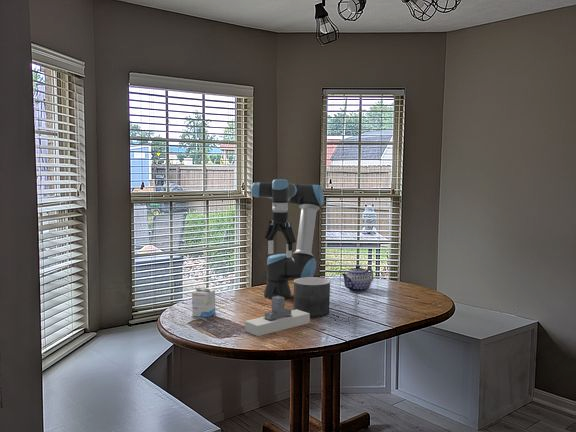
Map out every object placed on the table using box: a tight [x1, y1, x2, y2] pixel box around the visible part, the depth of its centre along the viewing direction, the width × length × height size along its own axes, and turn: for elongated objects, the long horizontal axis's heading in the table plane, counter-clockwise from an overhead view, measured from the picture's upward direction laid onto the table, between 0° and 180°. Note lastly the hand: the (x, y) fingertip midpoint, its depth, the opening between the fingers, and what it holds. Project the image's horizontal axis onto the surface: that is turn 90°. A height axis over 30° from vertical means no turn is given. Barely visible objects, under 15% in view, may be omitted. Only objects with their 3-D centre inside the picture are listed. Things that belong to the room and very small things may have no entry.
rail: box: [244, 309, 311, 337], centre depth 233 cm, size 30×9×4 cm, turn 131°
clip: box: [264, 296, 291, 321], centre depth 232 cm, size 12×4×13 cm, turn 131°
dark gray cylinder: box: [293, 276, 331, 318], centre depth 257 cm, size 18×18×16 cm
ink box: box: [191, 287, 216, 318], centre depth 251 cm, size 9×8×13 cm
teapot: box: [341, 264, 374, 293], centre depth 304 cm, size 25×15×15 cm, turn 125°
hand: (279, 255), depth 252 cm, fingers open, 13 cm apart
